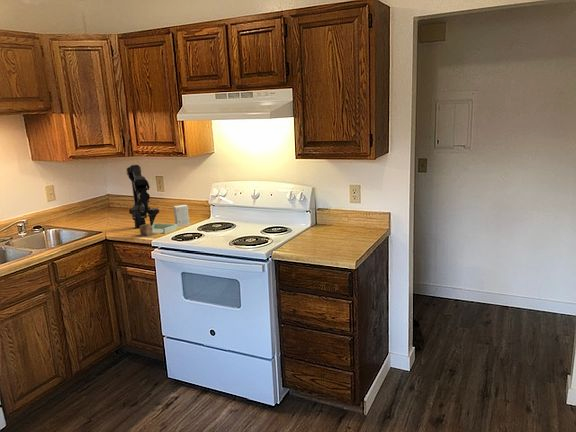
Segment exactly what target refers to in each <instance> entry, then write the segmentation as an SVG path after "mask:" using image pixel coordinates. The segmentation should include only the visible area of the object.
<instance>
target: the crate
mask: <svg viewBox="0 0 576 432" xmlns="http://www.w3.org/2000/svg"><path fill="white" fill-rule="evenodd" d="M178 229H179V227H178V224H176V223H159V222H155V223H154V222H153V225H152V231H153V233H158V234H167V233H169V232H174V231H175V230H178Z"/></svg>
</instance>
